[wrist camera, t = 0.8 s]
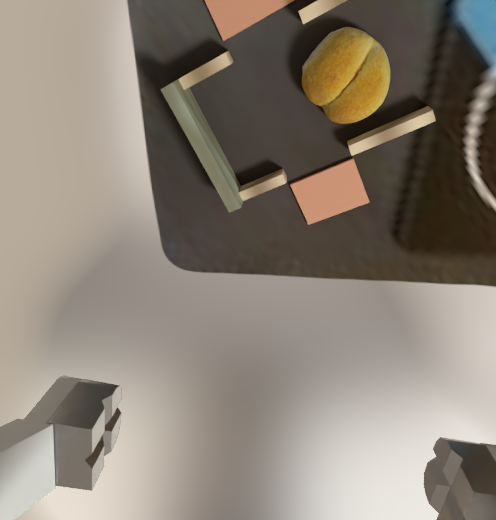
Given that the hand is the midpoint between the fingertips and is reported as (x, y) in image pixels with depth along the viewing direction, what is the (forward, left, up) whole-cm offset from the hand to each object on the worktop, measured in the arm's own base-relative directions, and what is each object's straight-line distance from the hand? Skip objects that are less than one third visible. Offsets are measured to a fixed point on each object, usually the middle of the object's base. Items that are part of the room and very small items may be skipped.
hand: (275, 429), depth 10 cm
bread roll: (-5, 0, -41) cm, 42 cm away
